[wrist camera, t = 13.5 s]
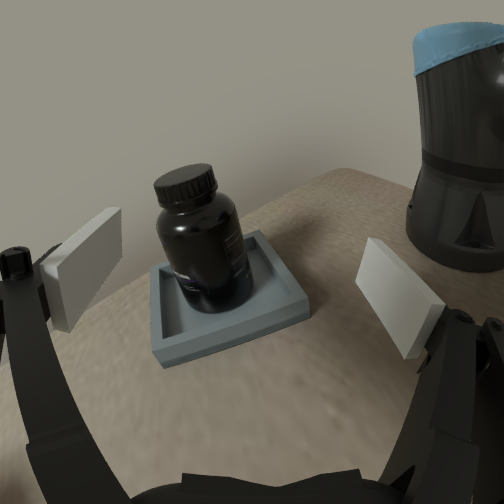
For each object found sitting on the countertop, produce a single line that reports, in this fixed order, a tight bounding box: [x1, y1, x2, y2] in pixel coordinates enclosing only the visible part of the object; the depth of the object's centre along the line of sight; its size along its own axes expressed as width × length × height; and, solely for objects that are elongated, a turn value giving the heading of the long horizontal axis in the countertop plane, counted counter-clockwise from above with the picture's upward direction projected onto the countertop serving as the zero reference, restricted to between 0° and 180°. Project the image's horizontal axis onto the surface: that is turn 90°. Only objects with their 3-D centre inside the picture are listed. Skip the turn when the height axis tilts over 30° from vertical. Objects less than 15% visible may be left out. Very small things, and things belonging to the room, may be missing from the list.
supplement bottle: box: [154, 163, 254, 314], centre depth 26 cm, size 7×7×12 cm
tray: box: [150, 230, 311, 369], centre depth 29 cm, size 13×13×2 cm
